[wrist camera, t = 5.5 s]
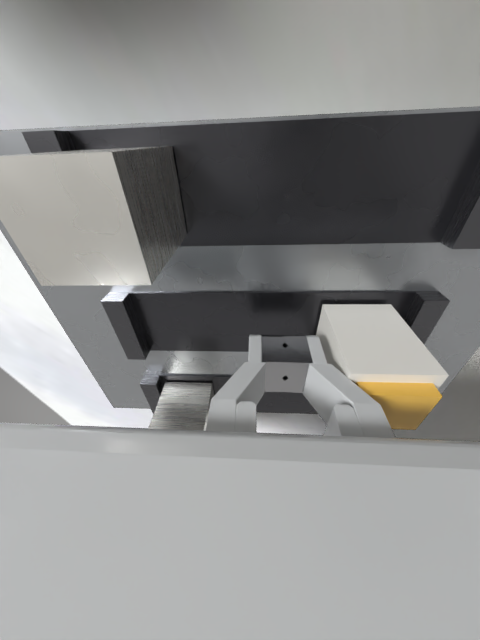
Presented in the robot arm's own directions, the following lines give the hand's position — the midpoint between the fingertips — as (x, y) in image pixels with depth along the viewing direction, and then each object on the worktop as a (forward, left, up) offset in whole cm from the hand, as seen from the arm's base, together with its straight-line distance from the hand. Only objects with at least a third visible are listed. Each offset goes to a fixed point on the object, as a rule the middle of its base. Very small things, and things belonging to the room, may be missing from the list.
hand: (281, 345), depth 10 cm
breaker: (-3, 0, -2) cm, 4 cm away
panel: (+1, 0, -3) cm, 3 cm away
